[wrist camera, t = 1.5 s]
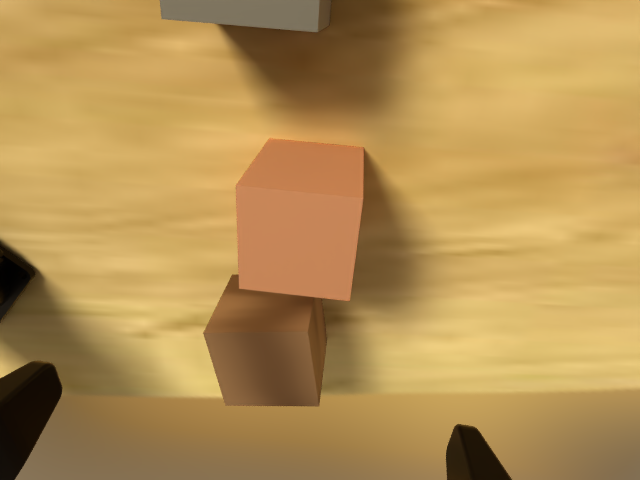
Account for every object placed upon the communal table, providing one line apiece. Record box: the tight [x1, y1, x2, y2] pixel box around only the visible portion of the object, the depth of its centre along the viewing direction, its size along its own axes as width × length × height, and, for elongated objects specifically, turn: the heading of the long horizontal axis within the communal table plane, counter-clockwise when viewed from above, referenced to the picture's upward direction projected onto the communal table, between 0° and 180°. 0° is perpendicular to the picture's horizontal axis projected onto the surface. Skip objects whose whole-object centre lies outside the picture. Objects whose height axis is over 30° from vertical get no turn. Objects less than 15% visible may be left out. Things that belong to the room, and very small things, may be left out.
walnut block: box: [203, 275, 327, 406], centre depth 23 cm, size 5×5×5 cm
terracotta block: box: [236, 138, 364, 301], centre depth 18 cm, size 4×4×6 cm
